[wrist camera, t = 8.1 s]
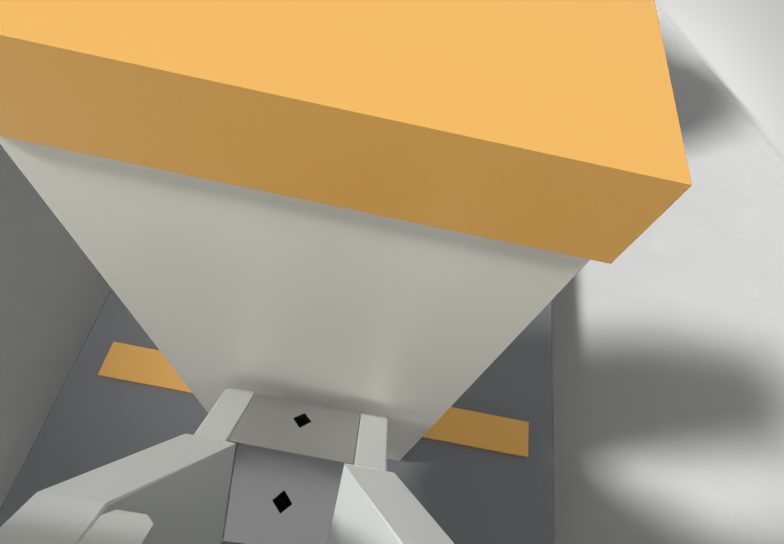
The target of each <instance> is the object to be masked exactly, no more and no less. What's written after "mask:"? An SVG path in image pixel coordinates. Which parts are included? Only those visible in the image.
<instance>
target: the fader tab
mask: <svg viewBox="0 0 784 544" xmlns="http://www.w3.org/2000/svg"><path fill="white" fill-rule="evenodd" d="M0 144H1V146H2V147H3V148H4V150H5V151H6V152H7V153H8V155H9V156H10V157H11V159H12V160H13V161H14V163H15V164H16V165H17V166H18V168H19V169H20V170H21V172H22V173H23V174H24V175H25V177H26V178H27V179H28V181H29V182H30V183H31V185H32V186H33V187H34V188H35V190H36V191H37V192H38V194H39V195H40V196H41V197H42V199H43V200H44V201H45V203H46V204H47V205H48V207H49V208H50V209H51V210H52V212H53V213H54V214H55V216H56V217H57V218H58V219H59V221H60V222H61V223H62V225H63V226H64V227H65V229H66V230H67V231H68V232H69V234H70V235H71V236H72V238H73V239H74V240H75V241H76V243H77V244H78V245H79V247H80V248H81V249H82V251H83V252H84V253H85V254H86V256H87V257H88V258H89V260H90V261H91V262H92V263H93V265H94V266H95V267H96V269H97V270H98V271H99V273H100V274H101V275H102V276H103V278H104V279H105V280H106V282H107V283H108V284H109V285H110V287H111V288H112V289H113V291H114V292H115V293H116V295H117V296H118V297H119V298H120V300H121V301H122V302H123V304H124V305H125V306H126V307H127V309H128V310H129V311H130V313H131V314H132V315H133V317H134V318H135V319H136V320H137V322H138V323H139V324H140V326H141V327H142V328H143V329H144V331H145V332H146V333H147V335H148V336H149V337H150V339H151V340H152V341H153V342H154V344H155V345H156V346H157V348H158V349H159V350H160V351H161V353H162V354H163V355H164V357H165V358H166V359H167V361H168V362H169V363H170V364H171V366H172V367H173V368H174V370H175V371H176V372H177V373H178V375H179V376H180V377H181V379H182V380H183V381H184V383H185V384H186V385H187V386H188V388H189V389H190V390H191V392H192V393H193V394H194V395H195V397H196V398H197V399H198V401H199V402H200V403H201V405H202V406H203V407H204V408H205V410H206V411H207V412H208V414H209V412H210V411H211V409H212V408H213V406H214V405H215V404H216V402H217V401H218V399H219V398H220V396H221V395H222V394H223V392H224V391H225V390H226V389H227V388H236V389H242V390H247V391H253V392H255V393H261V394H266V395H270V396H275V397H280V398H284V399H289V400H294V401H299V402H303V403H308V404H311V405H317V406H323V407H329V408H335V409H341V410H347V411H353V412H359V413H360V415H361V413H364V414H371V415H377V416H384V417H387V418H388V446H387V459H393V460H398V461H400V460H401V459H402V458H403V457H404V455H405V454H406V453H407V452H408V451H409V450H410V449H411V448H412V447H413V446H414V445H415V444H416V443H417V442H418V441H419V440H420V439H421V438H422V436H423V435H424V434H425V433H426V432H427V431H428V430H429V429H430V428H431V427H432V426H433V425H434V424H435V423H436V422H437V421H438V420H439V419H440V417H441V416H442V415H443V414H444V413H445V412H446V411H447V410H448V409H449V408H450V407H451V406H452V405H453V404H454V403H455V402H456V401H457V400H458V398H459V397H460V396H461V395H462V394H463V393H464V392H465V391H466V390H467V389H468V388H469V387H470V386H471V385H472V384H473V383H474V382H475V381H476V379H477V378H478V377H479V376H480V375H481V374H482V373H483V372H484V371H485V370H486V369H487V368H488V367H489V366H490V365H491V364H492V363H493V362H494V360H495V359H496V358H497V357H498V356H499V355H500V354H501V353H502V352H503V351H504V350H505V349H506V348H507V347H508V346H509V345H510V344H511V343H512V341H513V340H514V339H515V338H516V337H517V336H518V335H519V334H520V333H521V332H522V331H523V330H524V329H525V328H526V327H527V326H528V325H529V324H530V322H531V321H532V320H533V319H534V318H535V317H536V316H537V315H538V314H539V313H540V312H541V311H542V310H543V309H544V308H545V307H546V306H547V305H548V303H549V302H550V301H551V300H552V299H553V298H554V297H555V296H556V295H557V294H558V293H559V292H560V291H561V290H562V289H563V288H564V287H565V286H566V285H567V283H568V282H569V281H570V280H571V279H572V278H573V277H574V276H575V275H576V274H577V273H578V272H579V271H580V270H581V269H582V268H583V267H584V266H585V264H586V263H587V262H588V261H589V260H590V259H591V260H596V261H601V262H605V263H610V264H611V263H612V262H613V261H614V260H615V259H616V258H617V257H618V256H619V255H620V254H621V253H622V252H623V251H624V250H625V249H626V248H627V247H628V246H630V245H631V244H632V243H633V242H634V241H635V240H636V239H637V238H638V237H639V236H640V235H641V234H642V233H643V232H644V231H645V230H646V229H647V228H648V227H649V226H650V225H651V224H652V223H653V222H654V221H655V220H656V219H657V218H658V217H659V216H661V215H662V214H663V213H664V212H665V211H666V210H667V209H668V208H669V207H670V206H671V205H672V204H673V203H674V202H675V201H676V200H677V199H678V198H679V197H680V196H681V195H682V194H683V193H684V192H685V191H686V190H687V189H688V188H689V187H690V186H692V183H691V178H690V173H689V168H688V163H687V158H686V154H685V149H684V144H683V139H682V134H681V129H680V124H679V119H678V114H677V109H676V104H675V99H674V94H673V89H672V84H671V79H670V74H669V70H668V65H667V60H666V55H665V50H664V45H663V40H662V35H661V30H660V25H659V20H658V15H657V10H656V5H655V0H0Z"/></svg>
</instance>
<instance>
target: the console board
mask: <svg viewBox="0 0 784 544" xmlns="http://www.w3.org/2000/svg"><path fill="white" fill-rule="evenodd" d="M207 415H208V412H207V411H206V410H205V408H204V407H203V406H202V405H201V403H200V402H199V401H198V399H197V398H196V397H195V395H194V394H193V393H192V392H191V390H190V389H189V388H188V386H187V385H186V384H185V383H184V381H183V380H182V379H181V377H180V376H179V375H178V373H177V372H176V371H175V370H174V368H173V367H172V366H171V364H170V363H169V362H168V361H167V359H166V358H165V357H164V355H163V354H162V353H161V351H160V350H159V349H158V348H157V346H156V345H155V344H154V342H153V341H152V340H151V339H150V337H149V336H148V335H147V333H146V332H145V331H144V329H143V328H142V327H141V326H140V324H139V323H138V322H137V320H136V319H135V318H134V317H133V315H132V314H131V313H130V311H129V310H128V309H127V307H126V306H125V305H124V304H123V302H122V301H121V300H120V298H119V297H118V296H117V295H116V293H115V292H114V291H113V289H112V290H111V292H110V294H109V296H108V298H107V300H106V302H105V304H104V306H103V308H102V310H101V312H100V314H99V316H98V318H97V320H96V322H95V324H94V326H93V328H92V330H91V332H90V334H89V335H88V337H87V339H86V341H85V343H84V345H83V347H82V349H81V351H80V353H79V355H78V357H77V359H76V361H75V363H74V365H73V367H72V369H71V371H70V373H69V375H68V377H67V379H66V381H65V383H64V385H63V387H62V389H61V391H60V393H59V395H58V397H57V399H56V401H55V403H54V405H53V407H52V409H51V411H50V413H49V415H48V417H47V419H46V421H45V422H44V424H43V426H42V428H41V430H40V432H39V434H38V436H37V438H36V440H35V442H34V444H33V446H32V448H31V450H30V452H29V454H28V456H27V458H26V460H25V462H24V464H23V466H22V468H21V470H20V472H19V474H18V476H17V478H16V480H15V482H14V484H13V486H12V488H11V490H10V492H9V494H8V496H7V498H6V500H5V502H4V504H3V506H2V508H1V510H0V527H1V526H2V525H3V524H4V523H5V522H6V521H7V520H8V519H10V518H11V517H12V516H13V515H14V514H15V513H16V512H17V511H18V510H19V509H20V508H21V507H22V506H23V505H24V504H25V503H26V502H27V501H28V500H29V499H30V498H31V497H32V496H33V495H34V494H35V493H36V492H38V491H41V490H43V489H46V488H49V487H51V486H54V485H56V484H59V483H61V482H64V481H66V480H69V479H71V478H74V477H76V476H79V475H82V474H84V473H87V472H89V471H92V470H94V469H97V468H99V467H102V466H104V465H107V464H109V463H112V462H114V461H117V460H120V459H122V458H125V457H127V456H130V455H132V454H135V453H137V452H140V451H142V450H145V449H147V448H150V447H152V446H155V445H158V444H160V443H163V442H165V441H168V440H170V439H173V438H175V437H178V436H180V435H183V434H191V435H194V434H195V432H196V431H197V429H198V428H199V426H200V425H201V424H202V422H203V421H204V419H205V418H206V416H207ZM387 471H388V472H393V473H395V474H396V475H397V476H398V477H399V479H400V480H401V481H402V482H403V483H404V485H405V486H406V487H407V488H408V489H409V491H410V492H411V493H412V494H413V495H414V496H415V498H416V499H417V500H418V501H419V502H420V504H421V505H422V506H423V507H424V508H425V509H426V511H427V512H428V513H429V514H430V515H431V517H432V518H433V519H434V520H435V521H436V523H437V524H438V525H439V526H440V527H441V528H442V530H443V531H444V532H445V533H446V534H447V536H448V537H449V538H450V539H451V540H452V541H453V543H454V544H554V487H553V402H552V317H551V301H550V302H549V303H548V305H547V306H546V307H545V308H544V309H543V310H542V311H541V312H540V313H539V314H538V315H537V316H536V317H535V318H534V319H533V320H532V321H531V322H530V324H529V325H528V326H527V327H526V328H525V329H524V330H523V331H522V332H521V333H520V334H519V335H518V336H517V337H516V338H515V339H514V340H513V341H512V343H511V344H510V345H509V346H508V347H507V348H506V349H505V350H504V351H503V352H502V353H501V354H500V355H499V356H498V357H497V358H496V359H495V360H494V362H493V363H492V364H491V365H490V366H489V367H488V368H487V369H486V370H485V371H484V372H483V373H482V374H481V375H480V376H479V377H478V378H477V379H476V381H475V382H474V383H473V384H472V385H471V386H470V387H469V388H468V389H467V390H466V391H465V392H464V393H463V394H462V395H461V396H460V397H459V398H458V400H457V401H456V402H455V403H454V404H453V405H452V406H451V407H450V408H449V409H448V410H447V411H446V412H445V413H444V414H443V415H442V416H441V417H440V419H439V420H438V421H437V422H436V423H435V424H434V425H433V426H432V427H431V428H430V429H429V430H428V431H427V432H426V433H425V434H424V435H423V436H422V438H421V439H420V440H419V441H418V442H417V443H416V444H415V445H414V446H413V447H412V448H411V449H410V450H409V451H408V452H407V453H406V454H405V455H404V457H403V458H402V459H401V460H400V461H398V460H393V459H387ZM222 544H242V543H235V542H229V541H222Z"/></svg>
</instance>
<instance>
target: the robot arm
mask: <svg viewBox="0 0 784 544" xmlns="http://www.w3.org/2000/svg"><path fill="white" fill-rule="evenodd" d="M387 446H388V418H387V417H384V416H377V415H371V414H364V413H361V415H360V413H359V412H353V411H347V410H341V409H335V408H329V407H323V406H317V405H311V404H308V403H303V402H299V401H294V400H289V399H284V398H280V397H275V396H270V395H266V394H261V393H255V392H253V391H247V390H242V389H236V388H227V389H226V390H225V391H224V392H223V394H222V395H221V396H220V398H219V399H218V401H217V402H216V404H215V405H214V406H213V408H212V409H211V411H210V412H209V414H208V415H207V416H206V418H205V419H204V421H203V422H202V424H201V425H200V426H199V428H198V429H197V431H196V432H195V434H194V435H191V434H183V435H180V436H178V437H175V438H173V439H170V440H168V441H165V442H163V443H160V444H158V445H155V446H152V447H150V448H147V449H145V450H142V451H140V452H137V453H135V454H132V455H130V456H127V457H125V458H122V459H120V460H117V461H114V462H112V463H109V464H107V465H104V466H102V467H99V468H97V469H94V470H92V471H89V472H87V473H84V474H82V475H79V476H76V477H74V478H71V479H69V480H66V481H64V482H61V483H59V484H56V485H54V486H51V487H49V488H46V489H43V490H41V491H38V492H36V493H35V494H34V495H33V496H32V497H31V498H30V499H29V500H28V501H27V502H26V503H25V504H24V505H23V506H22V507H21V508H20V509H19V510H18V511H17V512H16V513H15V514H14V515H13V516H12V517H11V518H10V519H8V520H7V521H6V522H5V523H4V524H3V525H2V526H1V527H0V544H222V541H229V542H235V543H242V544H454V543H453V541H452V540H451V539H450V538H449V537H448V536H447V534H446V533H445V532H444V531H443V530H442V528H441V527H440V526H439V525H438V524H437V523H436V521H435V520H434V519H433V518H432V517H431V515H430V514H429V513H428V512H427V511H426V509H425V508H424V507H423V506H422V505H421V504H420V502H419V501H418V500H417V499H416V498H415V496H414V495H413V494H412V493H411V492H410V491H409V489H408V488H407V487H406V486H405V485H404V483H403V482H402V481H401V480H400V479H399V477H398V476H397V475H396V474H395V473H393V472H388V471H387Z"/></svg>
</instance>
